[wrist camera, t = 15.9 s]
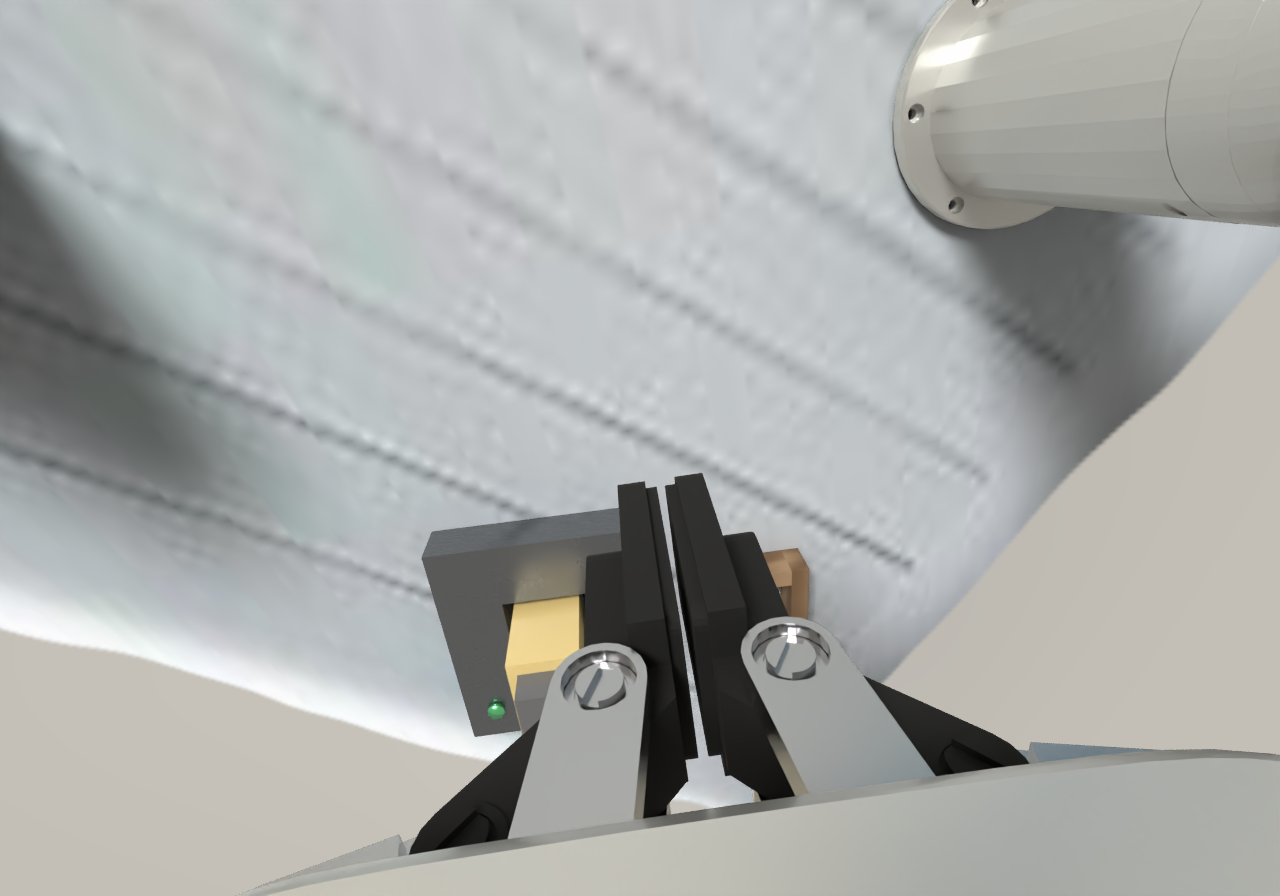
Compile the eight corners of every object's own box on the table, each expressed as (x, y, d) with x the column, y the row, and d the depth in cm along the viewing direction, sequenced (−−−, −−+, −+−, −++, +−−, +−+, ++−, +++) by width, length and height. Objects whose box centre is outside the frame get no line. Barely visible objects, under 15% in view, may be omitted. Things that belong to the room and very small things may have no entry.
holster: (797, 548, 45) (809, 569, 42) (795, 649, 49) (806, 673, 47) (687, 562, 44) (693, 584, 42) (695, 663, 48) (700, 687, 46)
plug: (579, 575, 44) (578, 681, 35) (590, 639, 47) (592, 755, 38) (517, 583, 44) (500, 692, 35) (531, 647, 46) (520, 765, 37)
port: (639, 505, 42) (643, 532, 39) (658, 679, 49) (663, 714, 46) (431, 531, 41) (420, 561, 38) (480, 704, 48) (473, 741, 45)
